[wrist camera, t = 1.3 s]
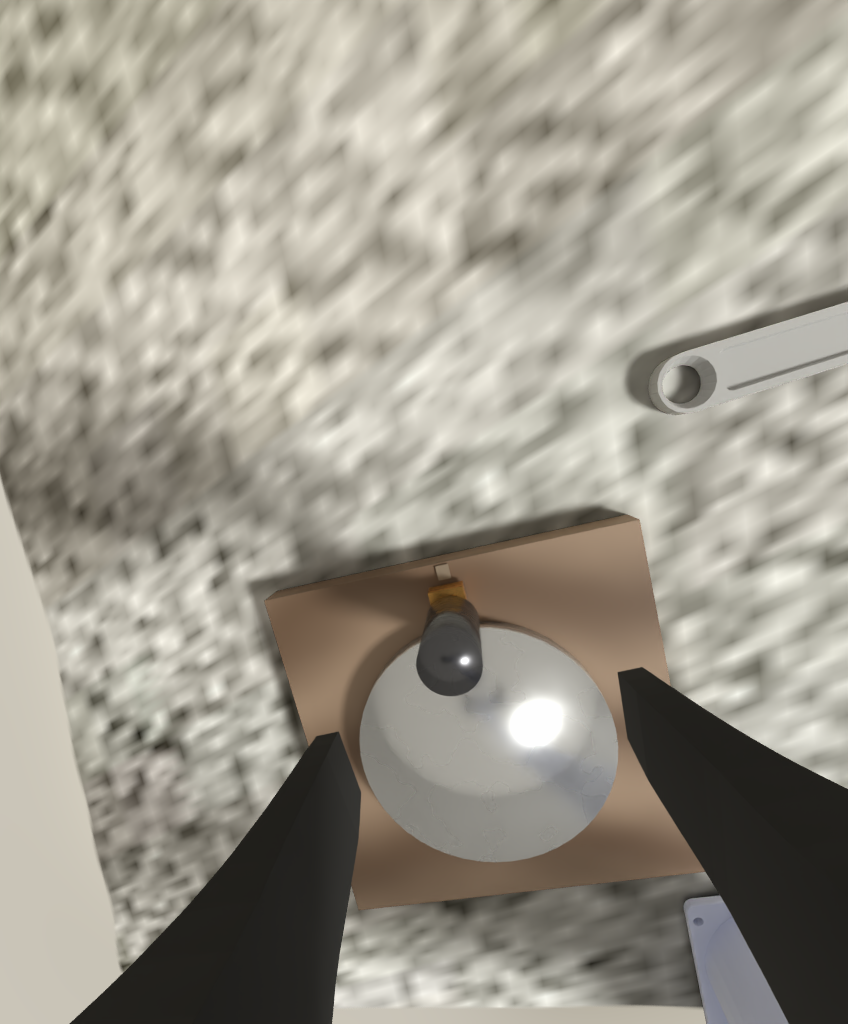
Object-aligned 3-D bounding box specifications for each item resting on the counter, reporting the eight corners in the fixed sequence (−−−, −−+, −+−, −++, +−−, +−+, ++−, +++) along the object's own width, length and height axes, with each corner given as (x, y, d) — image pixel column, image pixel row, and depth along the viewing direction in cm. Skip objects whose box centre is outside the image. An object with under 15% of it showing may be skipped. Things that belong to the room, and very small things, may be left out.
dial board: (689, 844, 23) (707, 875, 21) (365, 882, 25) (358, 914, 23) (627, 514, 20) (641, 520, 19) (277, 591, 23) (262, 602, 21)
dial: (631, 827, 21) (681, 941, 16) (397, 856, 23) (378, 969, 18) (575, 555, 19) (611, 592, 15) (326, 608, 21) (283, 657, 16)
